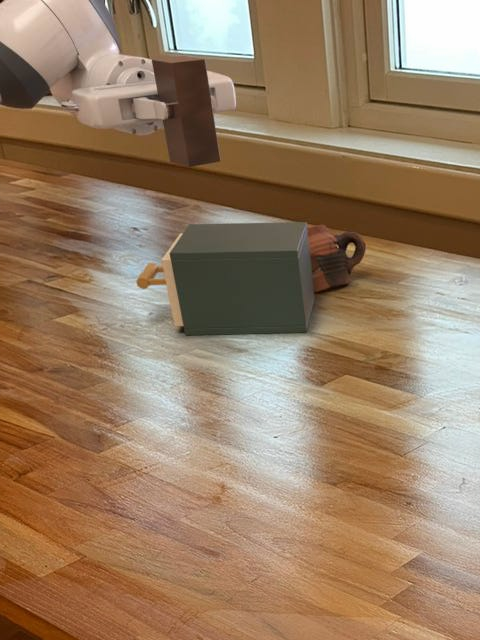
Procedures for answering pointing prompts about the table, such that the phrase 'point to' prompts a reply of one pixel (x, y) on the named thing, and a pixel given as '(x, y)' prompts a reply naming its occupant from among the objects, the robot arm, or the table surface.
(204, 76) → the block
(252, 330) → the cabinet
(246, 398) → the table surface
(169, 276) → the drawer
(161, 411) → the table surface
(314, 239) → the pottery mug
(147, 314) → the table surface
